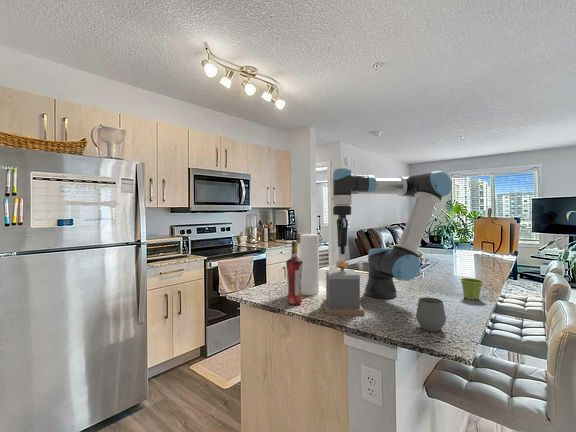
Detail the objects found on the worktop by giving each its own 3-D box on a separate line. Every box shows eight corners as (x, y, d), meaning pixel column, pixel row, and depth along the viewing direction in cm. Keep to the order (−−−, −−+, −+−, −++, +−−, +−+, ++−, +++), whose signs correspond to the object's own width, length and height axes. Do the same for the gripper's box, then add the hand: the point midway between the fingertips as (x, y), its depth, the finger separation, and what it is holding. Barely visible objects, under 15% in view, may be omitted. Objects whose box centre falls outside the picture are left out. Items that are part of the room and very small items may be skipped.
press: (356, 303, 135) (356, 269, 135) (364, 314, 120) (364, 276, 120) (322, 303, 135) (322, 269, 135) (326, 315, 120) (326, 276, 120)
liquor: (291, 300, 141) (290, 240, 141) (305, 302, 138) (305, 240, 137) (283, 304, 134) (283, 241, 134) (298, 306, 131) (298, 242, 131)
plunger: (350, 297, 132) (350, 260, 132) (354, 303, 124) (354, 263, 123) (330, 297, 132) (330, 260, 132) (333, 303, 124) (333, 263, 123)
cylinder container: (318, 290, 159) (318, 233, 159) (318, 295, 150) (318, 234, 150) (300, 290, 160) (300, 233, 160) (299, 294, 151) (299, 234, 151)
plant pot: (485, 298, 144) (485, 280, 144) (480, 302, 137) (480, 283, 137) (463, 294, 150) (463, 277, 150) (457, 298, 143) (457, 280, 143)
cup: (416, 331, 103) (416, 302, 103) (415, 322, 112) (415, 295, 112) (447, 335, 100) (447, 305, 100) (444, 326, 108) (444, 298, 108)
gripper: (331, 206, 134) (330, 259, 134) (335, 205, 121) (335, 264, 121) (348, 206, 134) (347, 259, 134) (354, 205, 121) (354, 264, 121)
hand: (342, 261), depth 128 cm, fingers closed
